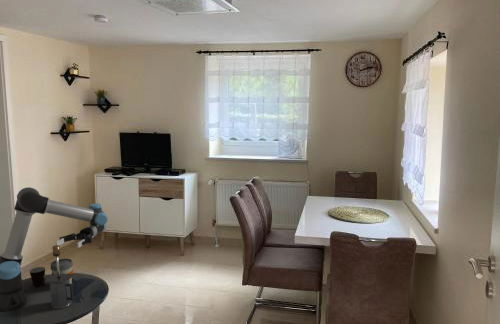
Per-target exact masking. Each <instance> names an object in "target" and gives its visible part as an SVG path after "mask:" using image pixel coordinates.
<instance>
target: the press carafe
mask: <svg viewBox="0 0 500 324" xmlns="http://www.w3.org/2000/svg"><path fill="white" fill-rule="evenodd" d="M72 276H74V273H73V274H63V273H60V278H58V274H57V273H56V274H54V275H53V276H52V275H51V276H49V278H47V279H45V281H44V282H45V284H49V293H50V303H51V305H50V307H51V309H53V310H62V309H66V308H68V307H70V306H71V305H72V304H73V303H72V301H74V299H75V298H74V296H75V295H74V288H73V287H74V285H73V283H72V284H70V282H69V279H70V278H71V277H72ZM72 278H73V277H72Z"/></svg>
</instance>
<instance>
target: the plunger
mask: <svg viewBox="0 0 500 324" xmlns="http://www.w3.org/2000/svg"><path fill="white" fill-rule="evenodd" d="M60 246H61V245H56V244H55V245H53V246H52V256H53V257H55V261H56V264H57V274H58V278H60V270H59V257H60V256H61V247H60Z"/></svg>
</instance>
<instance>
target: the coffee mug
mask: <svg viewBox="0 0 500 324" xmlns="http://www.w3.org/2000/svg"><path fill="white" fill-rule="evenodd" d="M29 275H30V278H31V283H32V287H33V288H40V287H43V286H45V285H46V283H45V282H44V281H45V280H46V267H44V266H37V267H33V268H31V269H29Z"/></svg>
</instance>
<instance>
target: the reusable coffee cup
mask: <svg viewBox="0 0 500 324" xmlns="http://www.w3.org/2000/svg"><path fill="white" fill-rule="evenodd" d="M58 260H59V270H60V273H63V274H73V276H74V268H73V266H74V264H73V263H74V262H73V260H72V258H61V259H59V258H58ZM50 270H51V276H53V275H54V274H56V273H57V264H56V260H53V261H52V262H50ZM73 276H72V277H71V278H70V279H69V282H70V284H73V283H72V281H73V280H72V279H73Z"/></svg>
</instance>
